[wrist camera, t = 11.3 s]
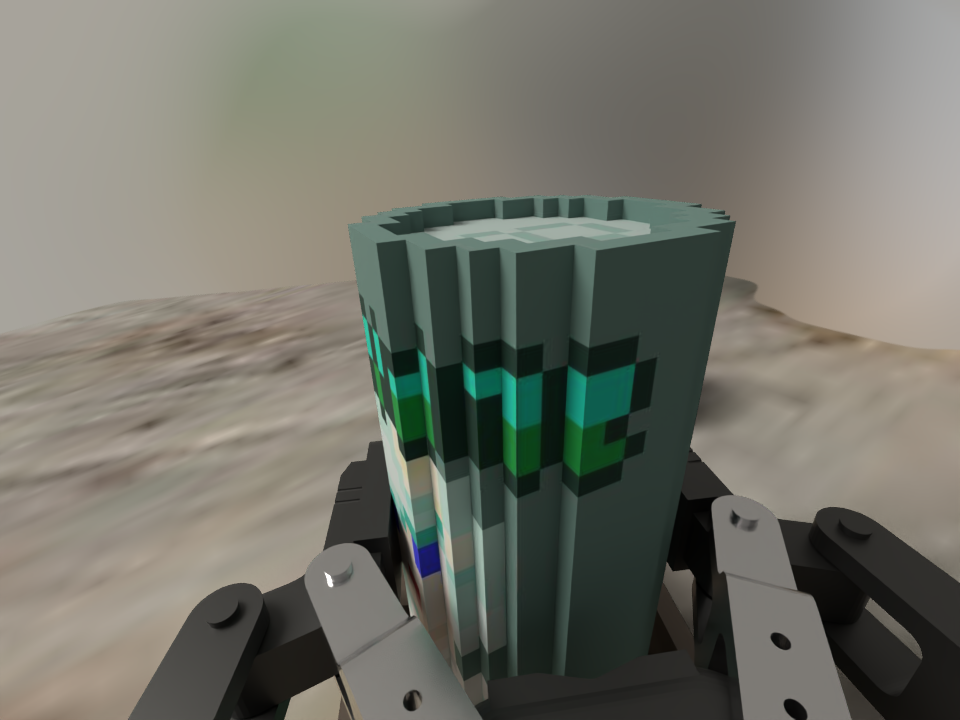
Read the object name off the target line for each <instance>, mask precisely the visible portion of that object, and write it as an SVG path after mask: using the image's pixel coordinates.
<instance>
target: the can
mask: <svg viewBox="0 0 960 720" xmlns="http://www.w3.org/2000/svg"><path fill="white" fill-rule="evenodd" d="M701 206H702V205H701V204H694V203H685V202H675V201H666V200H656V199H646V198H637V197H628V196H622V197H613V198H609V197H600V196H591V195H583V196H565V195H561V196H560V195H559V196H549V197H548V196H540V195H537V196H526V197H515V198H506V197H493V198H481V199H471V200H459V201H448V202H437V203H426V204H422V206H416V207H405V208H395V209H392V211H389V212H379V213H378V215H375V216H363V217H362V223H356V224H348V228H349V235H350V241H351V247H352V253H353V260H354V265H355V272H356V278H357V285H358V291H359V297H360V303H361V310H362V316H363V322H364V328H365V335H366V341H367V347H368V353H369V360H370V366H371V372H372V378H373V385H374V391H375V397H376V403H377V410H378V416H379V422H380V428H381V435H382V441H383V447H384V453H385V460H386V466H387V472H388V478H389V485H390V491H391V495H392V502H393V508H394V514H395V520H396V526H397V533H398V539H399V545H400V551H401V558H402V566H403V572H404V578H405V585H406V591H407V597H408V603H409V610H410V616H413V615H414V616H416V617H417V618H418V619H419V620H420V621H421V623H422V624H423V626H424V627H425V629H426V630H427V632H428V634H429V635H430V637H431V638H432V640H433V642H434V643H435V645H436V646H437V648H438V649H439V651H440V653H441V654H442V656H443V657H444V659H445V661H446V662H447V664H448V665H449V667H450V668H451V670H452V672H453V673H454V675H455V676H456V678H457V680H458V681H459V683H460V684H461V686H462V687H463V689H464V691H465V692H466V694H467V695H468V697H469V699H470V700H471V702H472V703H473V705H474V706H475V705H477V704H478V703H480V702H482V701H484V700H486V699H488V688H487V681H489V680H495V679H502V678H508V677H514V676H520V675H527V674H533V673H544V674H552V675H560V676H569V677H577V678H585V679H594V678H597V677H600V676H602V675H604V674H606V673H608V672H610V671H612V670H613V669H615V668H617V667H619V666H621V665H623V664H625V663H627V662H629V661H631V660H633V659H635V658H637V657H640V656H646V655H648V651H649V646H650V641H651V636H652V631H653V626H654V621H655V616H656V612H657V607H658V602H659V597H660V592H661V587H662V582H663V577H664V572H665V567H666V562H667V557H668V553H669V548H670V543H671V538H672V533H673V528H674V523H675V518H676V513H677V508H678V503H679V498H680V494H681V489H682V484H683V479H684V474H685V469H686V464H687V459H688V454H689V449H690V444H691V439H692V434H693V430H694V425H695V420H696V415H697V410H698V405H699V400H700V395H701V390H702V385H703V380H704V375H705V371H706V366H707V361H708V356H709V351H710V346H711V341H712V336H713V331H714V326H715V321H716V316H717V312H718V307H719V302H720V297H721V292H722V287H723V282H724V277H725V272H726V267H727V262H728V257H729V253H730V247H731V243H732V238H733V233H734V228H735V223H736V221H730V220H729V219H730V215H725V211H724V210H716V209H715V210H714V209H707V208H701Z"/></svg>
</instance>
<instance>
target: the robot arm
mask: <svg viewBox="0 0 960 720" xmlns="http://www.w3.org/2000/svg"><path fill="white" fill-rule="evenodd" d="M667 562H668V564H669V566H670V567H671V569H672V571H679V570H686V569H690V570H691V572H692V573H693V575H694V580H693V584H692V601H693V626H694V651H695V657H694V663H693V661H692V659H691V658H690V656H689V654H688V652H687V650H686V649H684V650H677V651H671V652H665V653H658V654H652V655H646V656H640V657H637V658H635V659H633V660H631V661H629V662H627V663H625V664H623V665H621V666H619V667H617V668H615V669H613V670H612V671H610V672H608V673H606V674H604V675H602V676H600V677H597V678H594V679H585V678H577V677H569V676H560V675H552V674H544V673H533V674H527V675H520V676H514V677H508V678H502V679H495V680H489V681H487V688H488V699H486V700H484V701H482V702H480V703H478V704H477V705H475V706H474V705H473V703H472V702H471V700H470V699H469V697H468V695H467V694H466V692H465V691H464V689H463V687H462V686H461V684H460V683H459V681H458V680H457V678H456V676H455V675H454V673H453V672H452V670H451V668H450V667H449V665H448V664H447V662H446V661H445V659H444V657H443V656H442V654H441V653H440V651H439V649H438V648H437V646H436V645H435V643H434V642H433V640H432V638H431V637H430V635H429V634H428V632H427V630H426V629H425V627H424V626H423V624H422V623H421V621H420V620H419V619H418V618H417V617H416V616H414V615H413V616H411V617H409V616H408V615H407V614H406V612H405V610H404V609H403V607H402V606H401V604H400V603H401V576H402V558H401V551H400V545H399V539H398V533H397V526H396V520H395V514H394V508H393V502H392V495H391V491H390V485H389V478H388V472H387V466H386V460H385V453H384V447H383V441H375V442H370V443H369V448H368V454H367V460H366V461H357V462H351V463H350V465H349V466H348V467H347V468H346V470H345V471H344V472H343V473H342V475H341V477H340V482H339V486H338V492H337V494H336V499H335V504H334V507H333V512H332V516H331V520H330V524H329V529H328V533H327V537H326V541H325V546H324V550H323V552H321V553H320V554H319V555H317V556H316V557H315V558H314V559H313V561H312V562H311V563H310V565H309V566H308V568H307V570H306V573H305V575H303V576H302V577H300V578H299V579H297V580H295V581H293V582H291V583H289V584H286V585H284V586H281V587H279V588H276V589H274V590H272V591H269V592H267V593H264V594H262V593H261V591H260V590H259V589H258V588H257V587H256V586H254V585H252V584H247V583H237V584H232V585H228V586H225V587H223V588H220V589H218V590H216V591H215V592H213V593H211V594H210V595H208V596H207V597H206V598H204V599H203V600H202V601H201V602H200V603H199V604H198V605H197V606H196V607H195V608H194V609H193V610H192V612H191V613H190V615H189V616H188V618H187V620H186V621H185V623H184V625H183V626H182V628H181V630H180V631H179V633H178V635H177V637H176V638H175V640H174V642H173V643H172V645H171V647H170V648H169V650H168V652H167V654H166V655H165V657H164V659H163V660H162V662H161V664H160V666H159V667H158V669H157V671H156V672H155V674H154V676H153V677H152V679H151V681H150V683H149V684H148V686H147V688H146V689H145V691H144V693H143V694H142V696H141V698H140V700H139V701H138V703H137V705H136V706H135V708H134V710H133V712H132V713H131V715H130V717H129V718H128V720H284V718H285V715H286V712H287V709H288V705H289V702H290V699H291V697H293V696H295V695H297V694H299V693H301V692H303V691H305V690H307V689H309V688H311V687H313V686H315V685H317V684H319V683H321V682H323V681H325V680H327V679H329V678H331V677H333V676H334V678H335V681H336V683H337V686H338V689H339V691H340V694H341V696H342V699H343V701H344V704H345V706H346V709H347V711H348V714H349V716H350V719H351V720H852V719H851V716H850V713H849V709H848V706H847V703H846V700H845V696H844V693H843V690H842V687H841V683H840V680H839V677H838V674H837V670H836V667H835V664H836V665H837V667H838V668H839V669H840V670H841V671H842V672H843V673H844V674H845V675H846V677H847V678H848V679H849V680H850V681H851V682H852V683H853V684H854V685H855V686H856V688H857V689H858V690H859V691H860V692H861V693H862V694H863V695H864V696H865V698H866V699H867V700H868V701H869V702H870V703H871V704H872V705H873V706H874V707H875V709H876V710H877V711H878V712H879V713H880V714H881V715H882V716H883V717H884V719H885V720H960V583H959V582H958V581H956V580H955V579H954V578H952V577H951V576H950V575H948V574H947V573H945V572H944V571H943V570H941V569H940V568H939V567H937V566H936V565H935V564H933V563H932V562H930V561H929V560H928V559H926V558H925V557H924V556H922V555H921V554H920V553H918V552H917V551H915V550H914V549H913V548H911V547H910V546H909V545H907V544H906V543H905V542H903V541H902V540H900V539H899V538H898V537H896V536H895V535H894V534H892V533H891V532H890V531H888V530H887V529H885V528H884V527H883V526H881V525H880V524H879V523H877V522H876V521H874V520H872V519H871V518H869V517H867V516H865V515H863V514H861V513H858V512H855V511H852V510H849V509H845V508H838V507H828V508H824V509H821V510H819V511H818V512H817V514H816V517H815V519H814V522H813V523H806V522H798V521H790V520H782V519H777V518H776V517H775V515H774V514H773V513H772V512H771V511H770V510H769V509H768V508H766V507H765V506H763V505H762V504H760V503H758V502H756V501H754V500H752V499H749V498H746V497H742V496H736V495H733V494H732V493H731V492H730V490H729V489H728V488H727V487H726V486H725V485H724V484H723V483H722V482H721V481H720V479H719V478H718V477H717V476H716V475H715V474H714V473H713V472H712V471H711V470H710V468H709V467H708V466H707V465H706V464H705V463H704V462H702V461H701V459H700V458H699V456H698V455H697V454H696V453H695V452H693V450H692V449H691V448H690V449H689V454H688V459H687V464H686V469H685V474H684V479H683V484H682V489H681V494H680V498H679V503H678V508H677V513H676V518H675V523H674V528H673V533H672V538H671V543H670V548H669V553H668V557H667ZM869 598H872V599H873V600H874V601H875V602H876V603H877V604H878V605H879V606H880V607H882V608H883V609H884V610H885V611H886V612H887V613H888V614H889V615H891V616H892V617H893V618H894V619H895V620H896V621H897V622H898V623H899V624H901V625H902V626H903V627H904V628H905V629H906V630H907V631H908V632H909V633H910V634H911V635H912V636H913V637H914V638H915V640H916V641H917V643H918V644H919V646H920V648H921V651H922V656H923V658H922V660H921V659H919V658H918V657H917V656H916V655H915V654H914V653H913V652H912V651H911V650H910V649H909V648H908V647H907V646H905V645H904V644H903V643H902V642H901V641H900V640H899V639H898V638H897V637H896V636H895V635H894V634H892V633H891V632H890V631H889V630H888V629H887V628H886V627H885V626H884V625H883V624H882V623H881V622H880V621H878V620H877V619H876V618H875V617H874V616H873V615H872V614H871V613H870V612H869V611H868V610H867V609H865V606H866V604H867V602H868V600H869ZM834 663H835V664H834Z"/></svg>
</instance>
